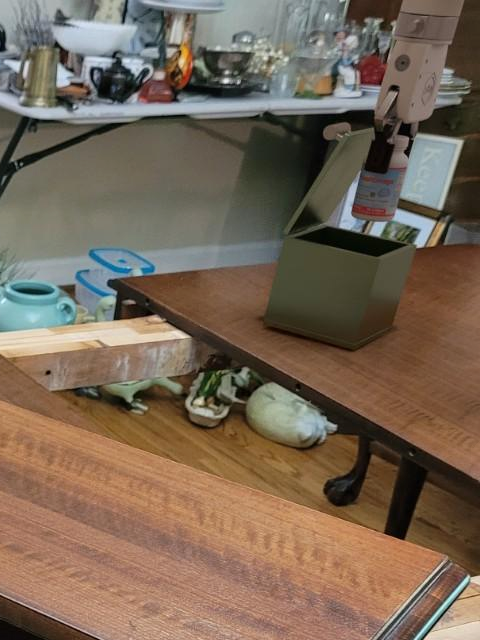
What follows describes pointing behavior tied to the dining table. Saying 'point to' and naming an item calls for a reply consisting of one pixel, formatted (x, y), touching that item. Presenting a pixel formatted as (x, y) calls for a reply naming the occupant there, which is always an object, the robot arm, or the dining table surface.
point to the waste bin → (338, 285)
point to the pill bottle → (381, 187)
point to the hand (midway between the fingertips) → (385, 168)
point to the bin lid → (332, 177)
